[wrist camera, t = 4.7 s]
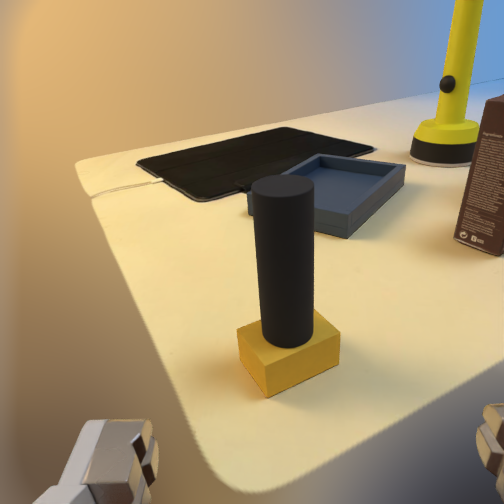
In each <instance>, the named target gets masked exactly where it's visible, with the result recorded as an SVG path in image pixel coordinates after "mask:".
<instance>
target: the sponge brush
mask: <svg viewBox="0 0 504 504" xmlns="http://www.w3.org/2000/svg"><path fill="white" fill-rule="evenodd" d="M251 193H252V206H253V220H254V233H255V246H256V259H257V273H258V286H259V299H260V312H261V320H259V321H256V322H254V323H251V324H248V325H246V326H243V327H241V328H238V329H237V337H238V346H239V355H240V360H241V362H242V363H243V365H244V366H245V367H246V369H247V370H248V372H249V373H250V374H251V376H252V377H253V379H254V380H255V382H256V383H257V384H258V386H259V387H260V389H261V390H262V391H263V393H264V394H265V396H266V397H267V398H269V397H271V396H273V395H275V394H277V393H279V392H281V391H283V390H285V389H288V388H290V387H292V386H294V385H296V384H298V383H300V382H302V381H304V380H306V379H308V378H311V377H313V376H315V375H317V374H319V373H321V372H323V371H325V370H327V369H329V368H331V367H334V366H336V365H338V364H339V353H340V332H339V331H338V330H337V329H336V328H335V327H334V326H333V325H332V324H330V323H329V322H328V321H327V320H326V319H325V318H324V317H323V316H322V315H320V314H319V313H318V312H317V311H316V310H315V309H314V182H313V181H312V180H311V179H309V178H307V177H304V176H299V175H290V174H282V175H273V176H268V177H264V178H261V179H259V180H257V181H255V182H254V183H253V184H252V186H251Z"/></svg>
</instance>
